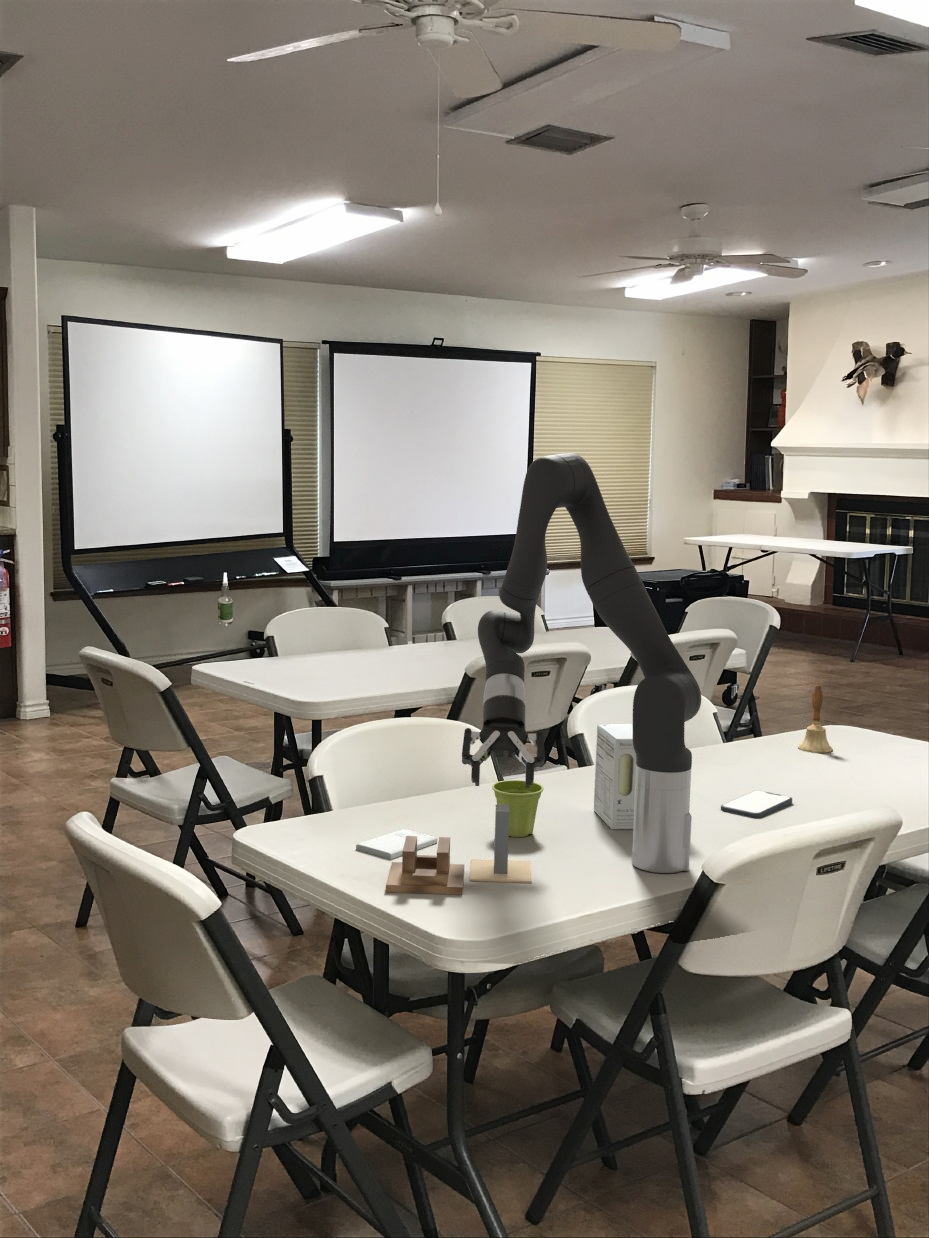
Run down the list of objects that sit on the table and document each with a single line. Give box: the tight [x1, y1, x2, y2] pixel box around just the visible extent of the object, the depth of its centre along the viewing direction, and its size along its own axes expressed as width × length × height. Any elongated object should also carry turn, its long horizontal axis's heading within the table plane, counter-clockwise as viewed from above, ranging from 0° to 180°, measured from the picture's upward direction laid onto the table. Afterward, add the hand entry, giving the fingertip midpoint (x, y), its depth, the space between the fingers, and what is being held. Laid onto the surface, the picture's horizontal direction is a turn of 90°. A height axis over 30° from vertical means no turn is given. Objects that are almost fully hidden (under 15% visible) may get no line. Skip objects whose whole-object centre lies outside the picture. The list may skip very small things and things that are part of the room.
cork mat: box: [469, 858, 533, 884], centre depth 197 cm, size 10×10×1 cm
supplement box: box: [593, 723, 636, 830], centre depth 228 cm, size 13×13×18 cm
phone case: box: [720, 790, 793, 819], centre depth 240 cm, size 9×2×16 cm
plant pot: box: [491, 779, 544, 838], centre depth 218 cm, size 9×9×9 cm
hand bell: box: [797, 684, 834, 754], centre depth 293 cm, size 8×8×16 cm
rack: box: [385, 836, 465, 896], centre depth 191 cm, size 12×11×6 cm
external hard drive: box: [355, 828, 438, 860], centre depth 209 cm, size 2×8×12 cm
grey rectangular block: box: [493, 804, 510, 874], centre depth 196 cm, size 2×4×10 cm, turn 179°
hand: (502, 784), depth 202 cm, fingers open, 8 cm apart
